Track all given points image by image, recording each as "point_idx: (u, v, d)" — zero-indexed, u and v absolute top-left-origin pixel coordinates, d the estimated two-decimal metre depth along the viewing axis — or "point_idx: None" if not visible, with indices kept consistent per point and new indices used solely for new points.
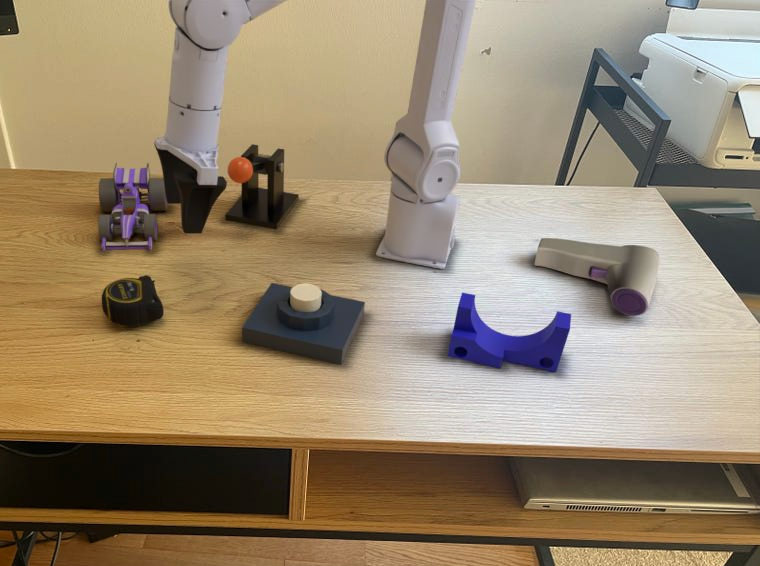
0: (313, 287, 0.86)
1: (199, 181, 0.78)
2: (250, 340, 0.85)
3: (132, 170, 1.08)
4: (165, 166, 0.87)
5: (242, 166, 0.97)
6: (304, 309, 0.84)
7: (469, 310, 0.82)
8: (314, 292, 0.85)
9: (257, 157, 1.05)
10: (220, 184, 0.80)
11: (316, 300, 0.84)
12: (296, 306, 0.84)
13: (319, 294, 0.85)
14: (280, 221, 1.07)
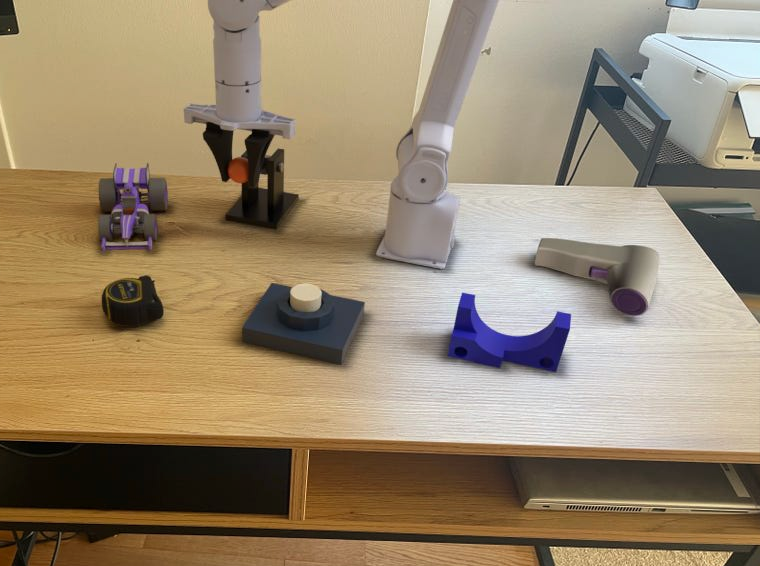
0: (313, 287, 0.86)
1: (289, 136, 0.92)
2: (250, 340, 0.85)
3: (132, 170, 1.08)
4: (222, 150, 0.96)
5: (242, 166, 0.97)
6: (304, 309, 0.84)
7: (469, 310, 0.82)
8: (314, 292, 0.85)
9: None
10: None
11: (316, 300, 0.84)
12: (296, 306, 0.84)
13: (319, 294, 0.85)
14: (280, 221, 1.07)
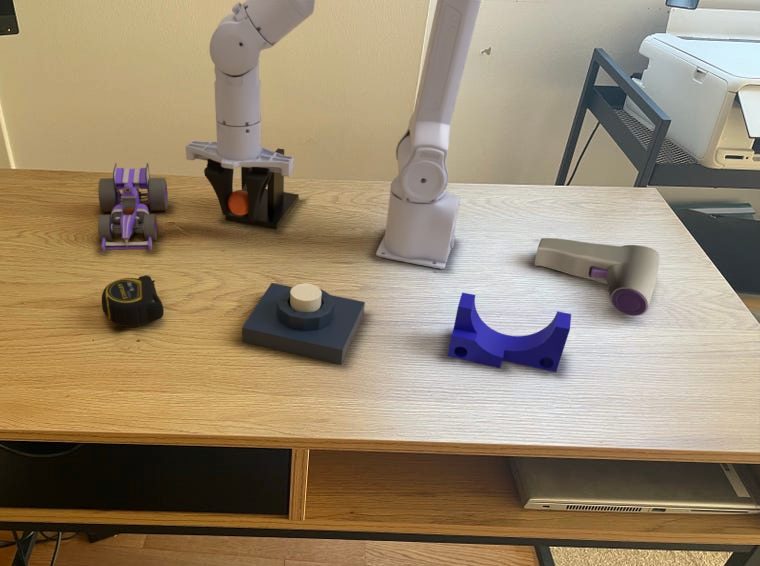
0: (313, 287, 0.86)
1: (288, 174, 0.95)
2: (250, 340, 0.85)
3: (132, 170, 1.08)
4: (222, 186, 0.99)
5: (241, 205, 1.00)
6: (304, 309, 0.84)
7: (469, 310, 0.82)
8: (314, 292, 0.85)
9: None
10: None
11: (316, 300, 0.84)
12: (296, 306, 0.84)
13: (319, 294, 0.85)
14: (280, 221, 1.07)
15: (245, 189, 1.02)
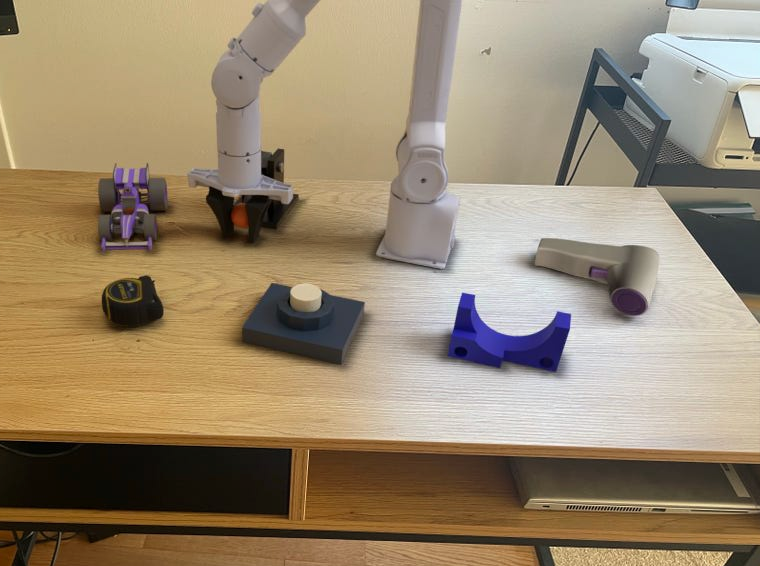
0: (313, 287, 0.86)
1: (287, 201, 0.97)
2: (250, 340, 0.85)
3: (132, 170, 1.08)
4: (224, 213, 1.01)
5: (244, 221, 1.02)
6: (304, 309, 0.84)
7: (469, 310, 0.82)
8: (314, 292, 0.85)
9: None
10: None
11: (316, 300, 0.84)
12: (296, 306, 0.84)
13: (319, 294, 0.85)
14: (280, 221, 1.07)
15: (247, 199, 1.04)
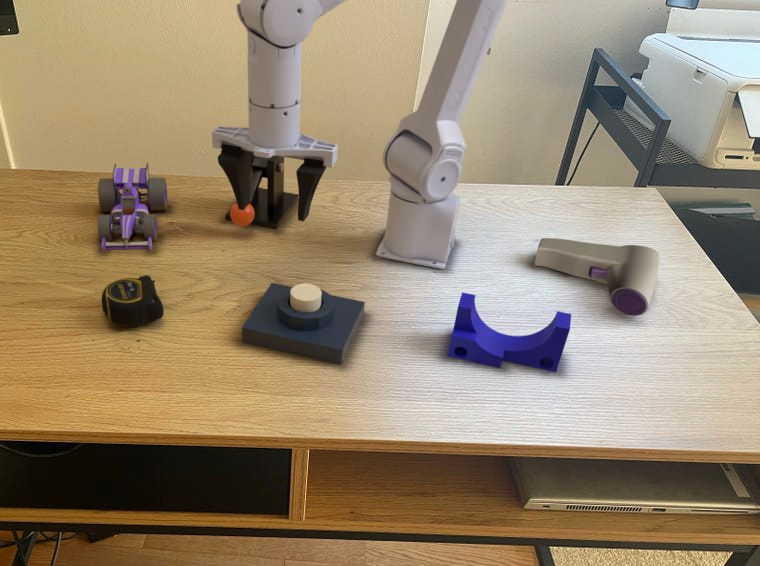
0: (313, 287, 0.86)
1: (331, 164, 0.82)
2: (250, 340, 0.85)
3: (132, 170, 1.08)
4: (239, 176, 0.86)
5: (243, 219, 1.01)
6: (304, 309, 0.84)
7: (469, 310, 0.82)
8: (314, 292, 0.85)
9: (255, 166, 1.05)
10: None
11: (316, 300, 0.84)
12: (296, 306, 0.84)
13: (319, 294, 0.85)
14: (280, 221, 1.07)
15: None
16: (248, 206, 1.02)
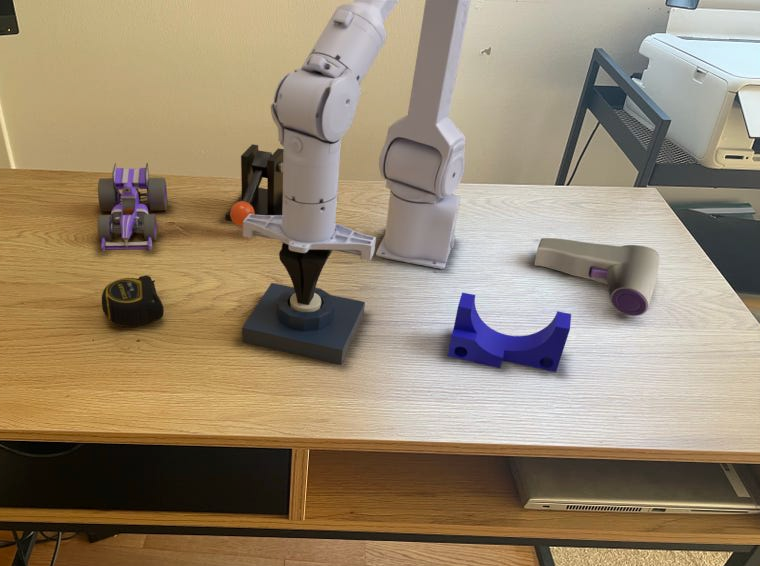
0: None
1: (369, 258, 0.78)
2: (250, 340, 0.85)
3: (132, 170, 1.08)
4: (300, 272, 0.81)
5: (243, 219, 1.01)
6: None
7: (469, 310, 0.82)
8: (314, 300, 0.85)
9: (255, 166, 1.05)
10: None
11: (316, 308, 0.85)
12: None
13: (319, 302, 0.85)
14: None
15: (246, 198, 1.03)
16: (248, 206, 1.02)
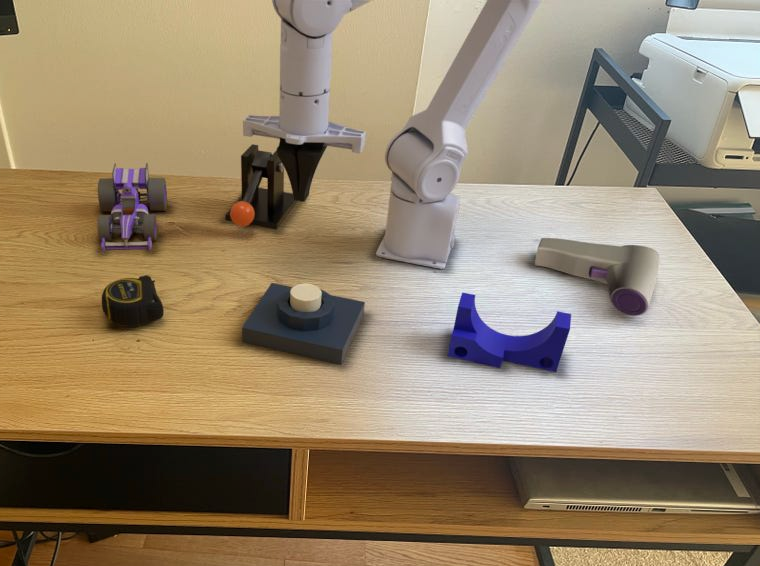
0: (313, 287, 0.86)
1: (360, 150, 0.85)
2: (250, 340, 0.85)
3: (131, 170, 1.08)
4: (296, 167, 0.88)
5: (243, 219, 1.01)
6: (304, 309, 0.84)
7: (469, 310, 0.82)
8: (314, 292, 0.85)
9: (255, 166, 1.05)
10: None
11: (316, 300, 0.84)
12: (296, 306, 0.84)
13: (319, 294, 0.85)
14: (280, 221, 1.07)
15: (246, 198, 1.03)
16: (248, 206, 1.02)
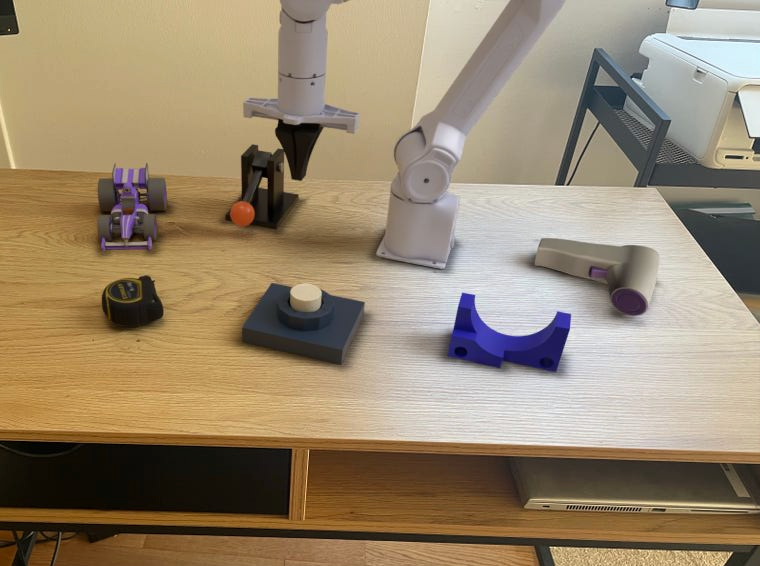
0: (313, 287, 0.86)
1: (354, 130, 0.89)
2: (250, 340, 0.85)
3: (131, 170, 1.08)
4: (294, 147, 0.93)
5: (243, 219, 1.01)
6: (304, 309, 0.84)
7: (469, 310, 0.82)
8: (314, 292, 0.85)
9: (255, 166, 1.05)
10: None
11: (316, 300, 0.84)
12: (296, 306, 0.84)
13: (319, 294, 0.85)
14: (280, 221, 1.07)
15: (246, 198, 1.03)
16: (248, 206, 1.02)
